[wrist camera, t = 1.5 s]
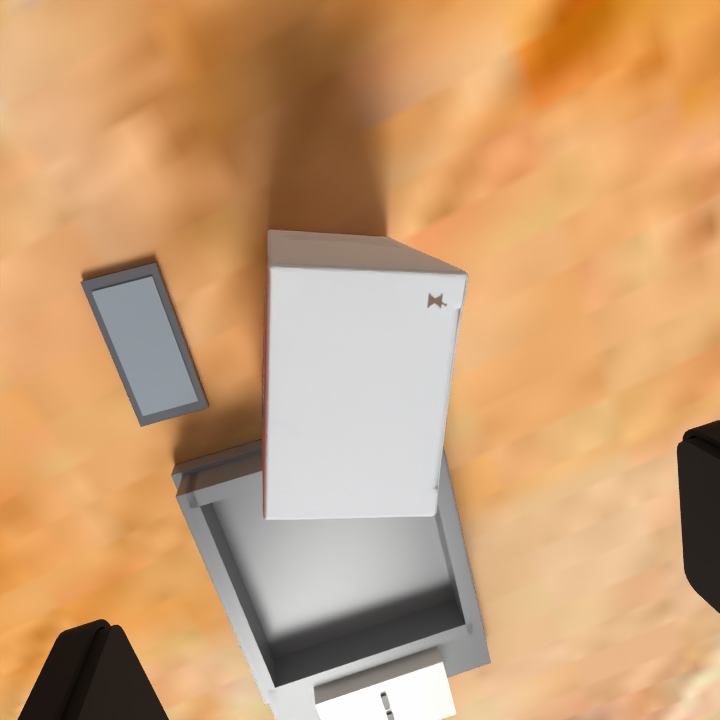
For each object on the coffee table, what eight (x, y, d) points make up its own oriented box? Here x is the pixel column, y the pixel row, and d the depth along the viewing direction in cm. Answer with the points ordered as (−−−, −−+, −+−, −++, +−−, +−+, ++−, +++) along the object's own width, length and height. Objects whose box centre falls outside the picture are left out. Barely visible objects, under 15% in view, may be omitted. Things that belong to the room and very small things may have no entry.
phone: (87, 278, 23) (79, 282, 22) (159, 260, 24) (154, 263, 23) (145, 418, 26) (140, 427, 25) (210, 400, 26) (207, 408, 25)
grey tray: (174, 465, 26) (160, 505, 23) (427, 389, 27) (449, 418, 24) (281, 718, 32) (282, 780, 29) (484, 649, 33) (508, 701, 30)
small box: (266, 227, 23) (264, 254, 13) (390, 235, 24) (474, 267, 14) (262, 397, 26) (258, 527, 16) (376, 398, 27) (438, 522, 17)
